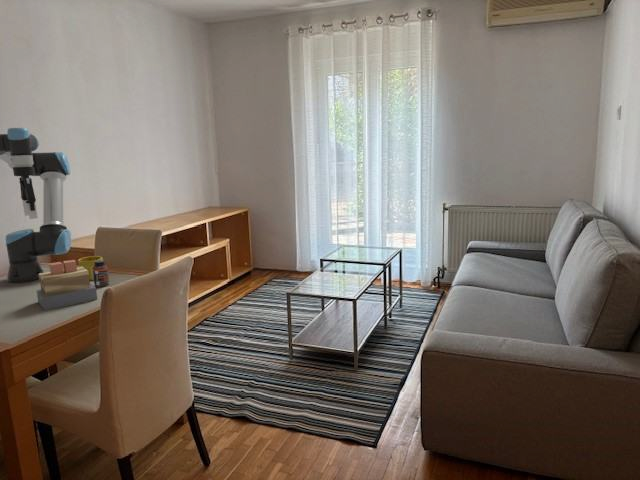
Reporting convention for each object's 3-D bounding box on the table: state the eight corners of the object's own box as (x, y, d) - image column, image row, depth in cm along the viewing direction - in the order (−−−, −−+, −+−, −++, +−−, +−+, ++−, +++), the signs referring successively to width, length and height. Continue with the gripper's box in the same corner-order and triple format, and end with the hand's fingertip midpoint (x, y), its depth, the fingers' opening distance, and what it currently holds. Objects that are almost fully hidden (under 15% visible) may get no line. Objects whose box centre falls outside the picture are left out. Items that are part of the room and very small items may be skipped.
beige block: (41, 290, 190) (38, 273, 189) (84, 282, 200) (82, 266, 199) (45, 296, 183) (43, 278, 181) (90, 287, 192) (88, 270, 191)
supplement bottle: (99, 288, 208) (96, 263, 206) (91, 286, 211) (88, 261, 209) (112, 284, 213) (109, 260, 211) (104, 283, 216) (101, 259, 214)
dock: (38, 301, 192) (36, 290, 191) (88, 291, 204) (87, 280, 203) (44, 310, 181) (42, 298, 180) (97, 299, 193) (95, 287, 192)
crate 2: (64, 270, 192) (62, 261, 191) (74, 269, 194) (73, 259, 193) (66, 272, 189) (64, 263, 188) (77, 270, 191) (75, 261, 190)
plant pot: (95, 282, 219) (92, 261, 217) (75, 281, 221) (72, 260, 219) (109, 275, 229) (106, 256, 227) (90, 275, 231) (87, 255, 229)
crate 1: (50, 273, 189) (49, 263, 188) (61, 271, 191) (60, 261, 190) (52, 275, 186) (51, 265, 185) (63, 273, 188) (62, 263, 187)
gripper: (8, 166, 203) (16, 215, 207) (16, 167, 184) (25, 221, 188) (29, 165, 208) (36, 213, 212) (38, 166, 189) (46, 218, 193)
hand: (31, 217), depth 200 cm, fingers open, 13 cm apart
